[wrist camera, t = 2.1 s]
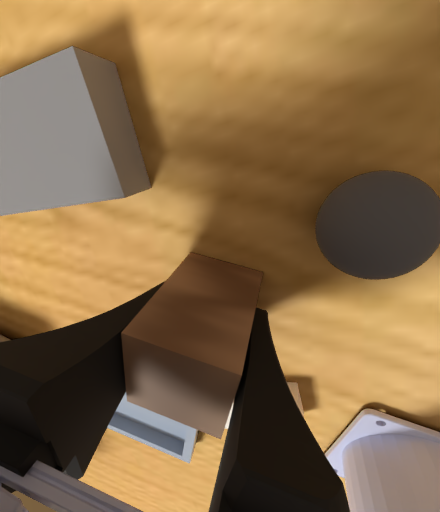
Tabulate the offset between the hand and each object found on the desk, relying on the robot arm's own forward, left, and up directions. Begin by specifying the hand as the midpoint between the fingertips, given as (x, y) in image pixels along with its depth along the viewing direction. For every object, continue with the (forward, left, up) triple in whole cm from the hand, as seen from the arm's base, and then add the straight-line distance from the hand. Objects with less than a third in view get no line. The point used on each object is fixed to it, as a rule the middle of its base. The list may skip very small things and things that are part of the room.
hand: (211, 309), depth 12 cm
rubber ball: (-5, -6, 0) cm, 8 cm away
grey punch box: (+9, -6, -2) cm, 11 cm away
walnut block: (0, 0, -2) cm, 2 cm away
